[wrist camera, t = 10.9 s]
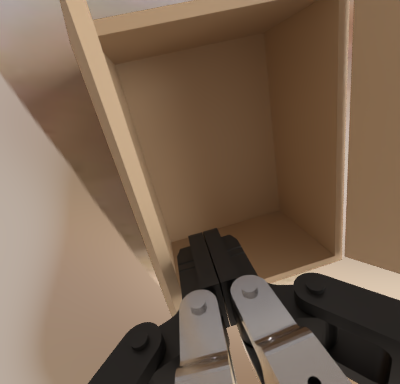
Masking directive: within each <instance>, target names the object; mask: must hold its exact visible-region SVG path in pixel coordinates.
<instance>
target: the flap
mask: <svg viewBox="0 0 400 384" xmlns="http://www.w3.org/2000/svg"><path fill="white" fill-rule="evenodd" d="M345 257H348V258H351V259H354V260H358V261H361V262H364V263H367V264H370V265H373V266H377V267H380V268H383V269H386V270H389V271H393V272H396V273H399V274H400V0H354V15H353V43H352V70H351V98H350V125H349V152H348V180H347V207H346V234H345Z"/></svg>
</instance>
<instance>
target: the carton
mask: <svg viewBox="0 0 400 384" xmlns="http://www.w3.org/2000/svg"><path fill="white" fill-rule="evenodd" d="M349 2H350V0H194V1H188V2H183V3H178V4H173V5H168V6H163V7H157V8H152V9H147V10H142V11H137V12H132V13H126V14H121V15H116V16H111V17H106V18H101V19H95V20H93V23H94V26H95V29H96V32H97V35H98V38H99V41H100V44H101V47H102V50H103V53H104V57H105V60H106V63H107V66H108V69H109V72H110V75H111V78H112V81H113V84H114V87H115V90H116V93H117V96H118V99H119V102H120V105H121V108H122V111H123V115H124V118H125V121H126V124H127V127H128V130H129V133H130V136H131V139H132V142H133V145H134V148H135V151H136V154H137V157H138V160H139V163H140V166H141V169H142V172H143V176H144V179H145V182H146V185H147V188H148V191H149V194H150V197H151V200H152V203H153V206H154V209H155V212H156V215H157V218H158V221H159V224H160V227H161V230H162V234H163V237H164V240H165V243H166V246H167V249H168V252H169V255H170V258H171V261H172V264H173V267H174V270H175V273H176V276H177V279H178V282H179V285H180V278H179V270H178V262H177V255H178V253H179V250H180V249H181V248H185V247H188V246H190V243H189V238H188V236H190V235H193V234H197V233H200V232H202V234H203V231H207V230H210V229H214V228H217V229H218V231H219V233H220V236H221V237H223V236H226V235H231V236H233V237H235V238H236V239H237V240H238V241H239V243H240V245H241V247H242V248H243V250H244V252H245V254H246V255H247V257H248V259H249V261H250V262H251V264H252V266H253V268H254V269H255V271H256V273H257V275H258V276H259V277H261V278H263V279H264V280H265V281H266V282H267V283H273V282H276V281H279V280H282V279H285V278H288V277H291V276H294V275H297V274H300V273H303V272H306V271H309V270H312V269H315V268H318V267H321V266H324V265H327V264H330V263H333V262H336V261H339V260H342V232H343V199H344V166H345V133H346V100H347V67H348V35H349ZM203 237H204V235H203ZM180 288H181V286H180Z"/></svg>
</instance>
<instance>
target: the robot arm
mask: <svg viewBox="0 0 400 384" xmlns="http://www.w3.org/2000/svg"><path fill="white" fill-rule="evenodd" d="M203 235H204V237H203ZM188 238H189V243H190V246H188V247H185V248H181V249H180V250H179V253H178V255H177V262H178V270H179V278H180V286H181V293H182V301H181V303H180V307H179V310H178V312H177V313H176V314H175V315H174V316H173V317H172V318H171V319H170V320H168V321H167V322H165V323H164V324H162V325H160V326H159V327H158V326H157V325H156V324H154V323H151V322H145V323H141V324H139V325H136V326H135V327H133V328H132V329H131V330H130V331H129V332H128V333H127V334H126V335H125V336H124V337H123V339H122V340H121V341H120V343H119V344H118V345H117V347H116V348H115V349H114V350H113V352H112V353H111V354H110V356H109V357H108V358H107V360H106V361H105V362H104V364H103V365H102V366H101V367H100V369H99V370H98V371H97V373H96V374H95V375H94V376H93V378H92V379H91V381H90V382H89V383H88V384H237V381H236V376H235V371H234V367H233V362H232V357H231V353H230V348H229V344H230V343H229V337H228V333H227V330H226V328H227V327H230V325H229V321H230V324H231V326H233V325H236V324H237V327H238V330H239V333H240V336H241V341H242V344H243V347H244V349H245V351H246V354H247V356H248V358H249V361H250V363H251V365H252V367H253V370H254V372H255V374H256V377H257V379H258V381H259V384H351V382H350V381H349V380H348V378H350V379H351V380H353V381H355V382H357V383H358V384H400V300H397V299H394V298H391V297H388V296H385V295H381V294H379V293H376V292H373V291H370V290H367V289H364V288H361V287H358V286H355V285H352V284H349V283H346V282H343V281H340V280H337V279H334V278H331V277H328V276H325V275H322V274H318V273H305V274H302V275H300V276H298V277H297V278H296V279H295V281H294V285H274V284H270V283H267V282H266V281H265V280H264V279H263V278H261V277H259V276H258V275H257V273H256V271H255V269H254V268H253V266H252V264H251V262H250V261H249V259H248V257H247V255H246V254H245V252H244V250H243V248H242V247H241V245H240V243H239V241H238V240H237V239H236V238H235V237H233V236H231V235H226V236H223V237H221V236H220V233H219V231H218V229H217V228H214V229H210V230H207V231H203V234H202V232H200V233H197V234H193V235H190V236H188ZM226 312H227V313H226ZM227 315H228V317H227ZM228 318H229V321H228ZM347 377H348V378H347Z"/></svg>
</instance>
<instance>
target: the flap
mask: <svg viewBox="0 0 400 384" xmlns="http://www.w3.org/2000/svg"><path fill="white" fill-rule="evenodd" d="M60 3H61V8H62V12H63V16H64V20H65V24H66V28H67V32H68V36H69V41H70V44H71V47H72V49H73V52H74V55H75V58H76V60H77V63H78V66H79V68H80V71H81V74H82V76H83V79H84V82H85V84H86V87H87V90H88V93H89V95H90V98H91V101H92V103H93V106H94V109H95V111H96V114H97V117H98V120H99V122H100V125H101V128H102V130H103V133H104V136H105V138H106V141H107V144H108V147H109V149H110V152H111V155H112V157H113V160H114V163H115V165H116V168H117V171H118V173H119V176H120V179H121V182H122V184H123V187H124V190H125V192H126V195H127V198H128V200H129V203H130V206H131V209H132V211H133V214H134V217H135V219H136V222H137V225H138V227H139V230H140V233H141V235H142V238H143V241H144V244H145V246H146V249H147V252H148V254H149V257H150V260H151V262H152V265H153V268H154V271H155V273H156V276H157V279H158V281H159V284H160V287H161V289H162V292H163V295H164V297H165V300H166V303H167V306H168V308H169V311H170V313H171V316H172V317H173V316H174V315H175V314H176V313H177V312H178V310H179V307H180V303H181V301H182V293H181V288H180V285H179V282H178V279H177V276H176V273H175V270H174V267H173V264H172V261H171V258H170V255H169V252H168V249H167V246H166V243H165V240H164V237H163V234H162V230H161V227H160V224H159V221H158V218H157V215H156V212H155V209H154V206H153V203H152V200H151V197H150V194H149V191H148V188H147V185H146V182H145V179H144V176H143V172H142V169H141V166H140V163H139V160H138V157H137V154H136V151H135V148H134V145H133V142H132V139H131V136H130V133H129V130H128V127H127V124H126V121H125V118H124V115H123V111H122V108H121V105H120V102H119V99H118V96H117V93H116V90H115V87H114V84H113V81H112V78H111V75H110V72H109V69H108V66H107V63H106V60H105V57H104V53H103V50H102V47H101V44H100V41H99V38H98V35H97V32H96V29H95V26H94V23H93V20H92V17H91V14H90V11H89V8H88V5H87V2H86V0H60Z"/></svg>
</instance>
